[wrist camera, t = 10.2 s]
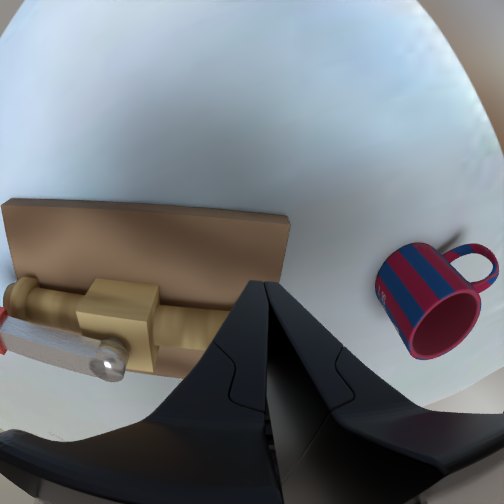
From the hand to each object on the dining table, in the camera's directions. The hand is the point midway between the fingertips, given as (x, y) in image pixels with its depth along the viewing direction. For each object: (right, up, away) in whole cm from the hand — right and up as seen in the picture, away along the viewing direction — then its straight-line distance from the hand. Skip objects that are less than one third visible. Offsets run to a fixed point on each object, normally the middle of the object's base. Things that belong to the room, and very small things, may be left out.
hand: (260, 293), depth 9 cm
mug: (+15, 0, +15) cm, 21 cm away
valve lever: (-15, -5, +8) cm, 18 cm away
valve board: (-10, -2, +14) cm, 18 cm away
